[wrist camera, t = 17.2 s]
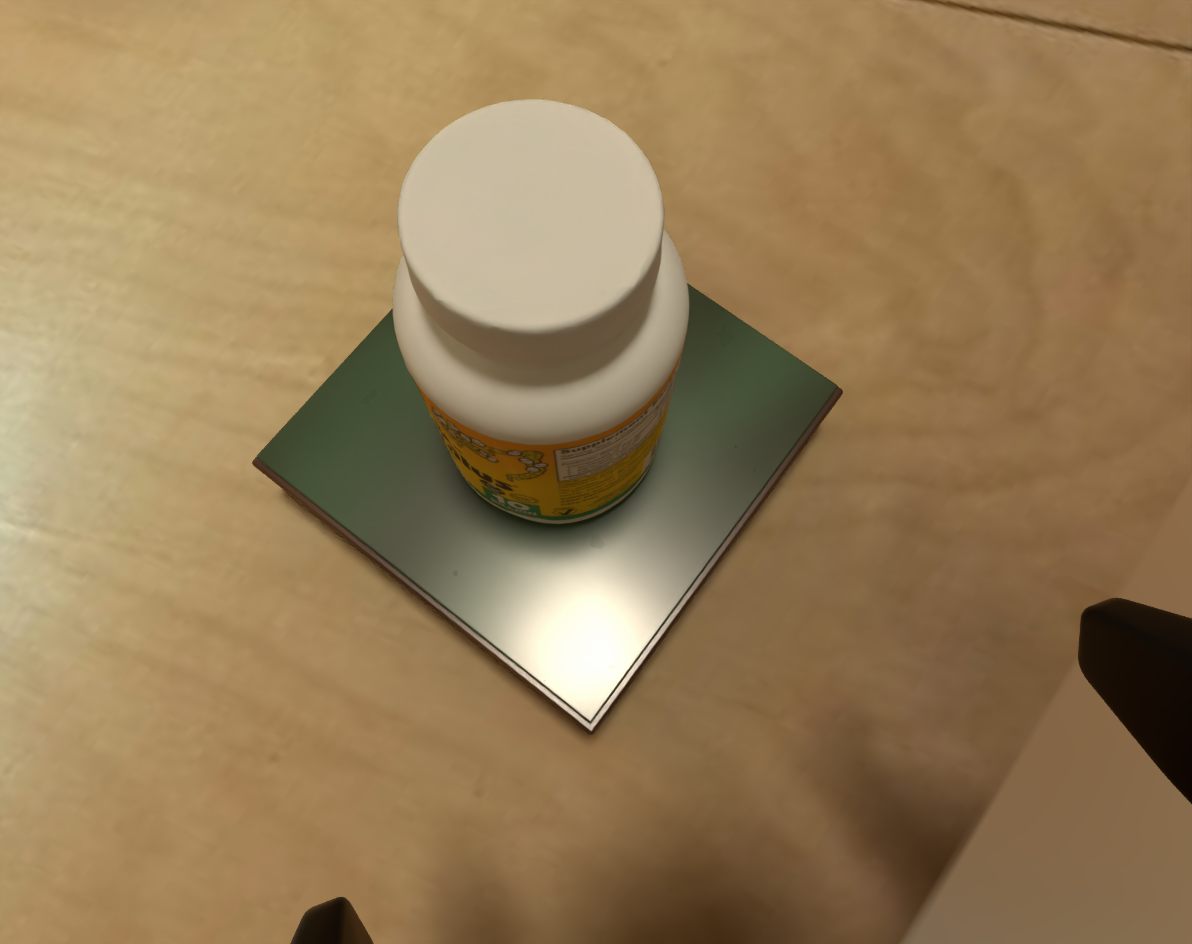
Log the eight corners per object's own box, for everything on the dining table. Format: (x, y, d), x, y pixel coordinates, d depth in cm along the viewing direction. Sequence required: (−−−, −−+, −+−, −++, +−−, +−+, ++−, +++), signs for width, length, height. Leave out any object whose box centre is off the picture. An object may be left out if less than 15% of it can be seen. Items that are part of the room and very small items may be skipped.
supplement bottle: (699, 460, 22) (785, 269, 13) (513, 568, 21) (460, 447, 12) (589, 294, 23) (594, 8, 14) (410, 389, 22) (288, 153, 13)
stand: (819, 422, 25) (849, 384, 22) (591, 734, 23) (592, 736, 20) (525, 219, 27) (519, 159, 24) (283, 488, 24) (244, 458, 22)
